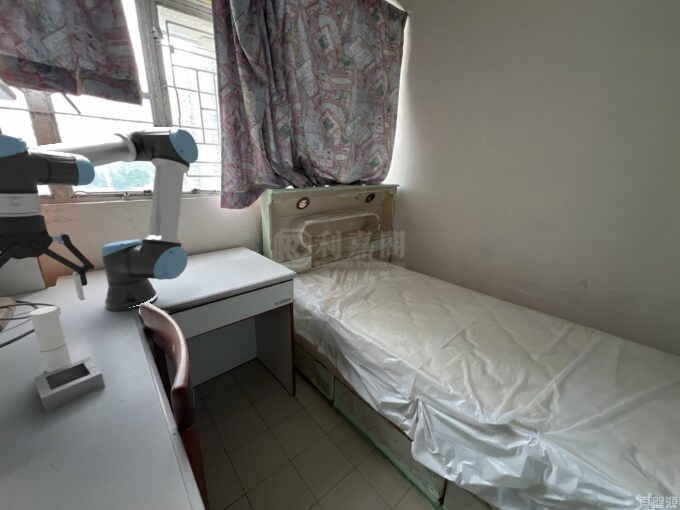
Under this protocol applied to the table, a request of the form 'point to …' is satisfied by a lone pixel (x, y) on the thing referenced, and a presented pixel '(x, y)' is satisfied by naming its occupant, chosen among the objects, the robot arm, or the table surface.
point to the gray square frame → (68, 383)
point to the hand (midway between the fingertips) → (41, 308)
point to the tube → (50, 337)
